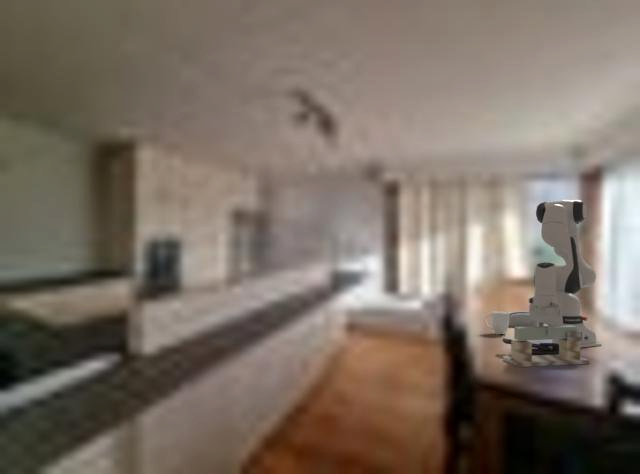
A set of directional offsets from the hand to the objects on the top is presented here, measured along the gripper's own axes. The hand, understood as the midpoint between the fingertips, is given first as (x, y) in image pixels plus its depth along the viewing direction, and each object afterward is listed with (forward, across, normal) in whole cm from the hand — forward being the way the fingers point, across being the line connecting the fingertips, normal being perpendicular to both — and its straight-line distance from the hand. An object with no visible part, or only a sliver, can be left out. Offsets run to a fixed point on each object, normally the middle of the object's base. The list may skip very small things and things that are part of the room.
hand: (545, 333), depth 241 cm
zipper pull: (+12, +14, -1) cm, 19 cm away
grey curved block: (+12, +84, -35) cm, 92 cm away
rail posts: (+12, 0, 0) cm, 12 cm away
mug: (+12, +64, -10) cm, 66 cm away
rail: (+2, 0, 0) cm, 2 cm away
